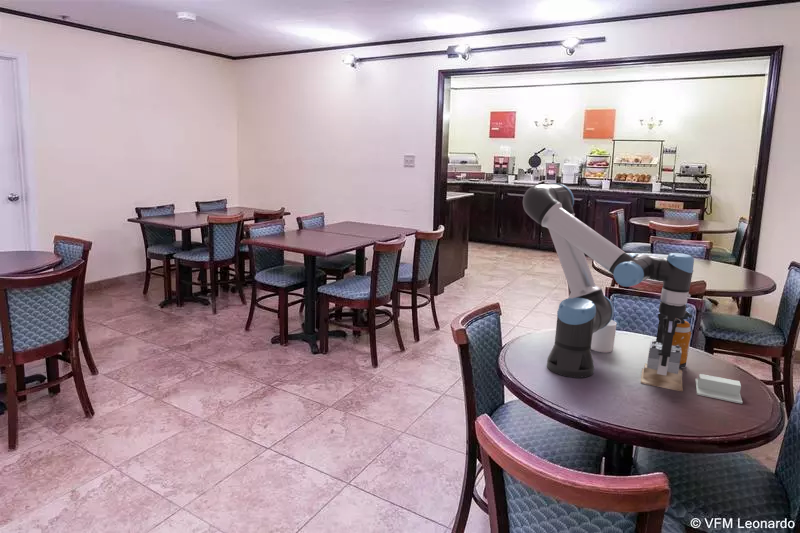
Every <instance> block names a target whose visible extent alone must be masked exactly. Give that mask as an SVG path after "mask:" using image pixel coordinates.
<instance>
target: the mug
mask: <svg viewBox="0 0 800 533" xmlns="http://www.w3.org/2000/svg"><path fill="white" fill-rule="evenodd" d="M617 323H618V322H616V321H615V320H613V319H612V320H611V321H610V322H609V323H608V325H607V326H605V327H604V328H602V329H599V330H598V331H596V332H594V333H593V335H592V343H591V351H595V352H597V353H604V354H606V353H611V352H613V350H614V346H615V337H616V333H617V332H616V331H617Z"/></svg>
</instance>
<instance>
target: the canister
mask: <svg viewBox="0 0 800 533" xmlns="http://www.w3.org/2000/svg"><path fill="white" fill-rule="evenodd" d="M665 316H666V315H662V314H661V313H658V314H657V317H658V324H657V332H656V338H655V341H656V342H658V343H661V340H662V335H663V318H666V317H665ZM692 318H693V315H692V314H691V313H690V312H688V310H686V312H685V316H684V317H681V318H679V317H677V318H675V320H677V327H676V329H675V335H673V341H672V345H675V346H676V345H679V346H680V347H681V352H682V354H681V360H680V365H679V369H684V368H687V367H686V366H687V361H688V356H689V355H688V354H689V350H690V345H691V344H690V343H691V337H692V332H691V327H692V326H691V323H689V321H688V319H692ZM686 320H687V321H686Z"/></svg>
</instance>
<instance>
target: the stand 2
mask: <svg viewBox="0 0 800 533" xmlns="http://www.w3.org/2000/svg"><path fill="white" fill-rule="evenodd" d="M694 381H695V390H696V391H695V392H696V395H697V396H702V397H707V398H711V399H712V398H713V399H717V400H722V401H726V402H730V403H731V402H732V403H736V404H739V405H740V404H741V405H742V404H743V400H742V396H741V395H742V394H741V390H742V385H741V382H740V380H735V379H729V378H724V377H720V376H715V375H714V376H713V375H710V374H709V375H708V374H703V373H699V374H698V378H695V379H694Z"/></svg>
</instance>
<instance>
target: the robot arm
mask: <svg viewBox="0 0 800 533" xmlns="http://www.w3.org/2000/svg"><path fill="white" fill-rule="evenodd" d="M574 205H575V196H574V194H573V192H572V190H571V189H570V188H569V187H568V186H567V185H565V184H563V183H557V182H551V183H539V184H535V185H533V186H531V187H529V188H528V189H527V190H526V191H525V192H524V196H523V198H522V206H523V210H524V212H525V213H526V214H527V216H529V217H530V218H531V219H532V220H533V221H535V222H536V223H537V224H539V225H540V226H541V227H543V228H546V229H548V232H549V234H550V238H551V241H552V244H553V245H554V248H555V251H556V253H557V257H558V260H559V262H560V263H559V264H561V268H562V271H563V274H564V277H565V279H566V282H567V285H568V289H569V292H570V294H569V296H568V297H567V298H565V299H563V300H561V302H559V305H558V308H557V313H556V314H557V315H556V316H557V317H556V327H555V336H554V345H553V347H552V349H551V350H550V353H549V355H548V357H547V361H546V367H547V369H548V370H550V371H551V372H552V373H555V374H558V375H561V376H564V377H568V378H578V379H579V378H580V379H581V378H588V377H590V376H593V374H594V370H595V364H594V359H593V355H592V349H591V343H592V335H593V333H594V332H596V331H598V330H599V329H602V328H604V327H605V326H607V325H608V323H609V322H610V321H611V320H613V317H614V314H615V309H614V305H613V304H614V303H612V301H611V300H610V299H609V297H607V296H606V295H605V294H604V291H603V289H602V287H601V286H598V285H596V282H595V280H594V278H593V274H592V272H591V268H590V266H589V263H588V260H587V259H586V258H587V257H589V258H590V259H592V260H593V261H595V263H597V264H598V265H600V266H601V267H602V268H604V269H605V270H607V271H608V272H609V273H611V275H613V278H614V281H615V282H616V283H617V284H618V285H620V286H621V287H626V288H628V287H635V286H637V285H638V284H641V283H642V282H644V281H647V280H651V281H656V282H662V284H663V285H662V289H661V293H660V300H661V301H660V302H659V305H658V306H659V308H658V314H660V313H661V314H662V315H666V316H665V317H666V318H663V335H662V340H661V343H663V344H662V350H661V353H658V355H660V358H659V364H658V370H657V374H660V375H665V376H666V375H667V369H668V363H669V358H670V355H671V354H670V353H671V347H672V341H673V335H675V329H676V327H677V320H675V318H677V317H679V318H681V317H684V316H685V312H686V311H687V304H688V298H690V297H691V294H690V293H689V292H690V288H691V284H692V283H691V282H692V278H693V273H694V264H695V263H694V262H695V258H694V256H692V255H690V254H686V253H682V252H681V253H679V252H670V253H668V255H667V257H661V256H660V257H658V256H654V255H648V254H643V253H636V252H635V253H633V252H631V253H629V254H628V253H626V251H624V250H622V249H621V248H619V247H618V246H617V245H615V244H614V243H613V242H611V241H610V240H609V239H607V238H606V237H604V236H602V235H601V234H600V233H598V232H597V231H595V230H594V229H593V228H591V227H590V226H589V225H587V224H586V223H584V222H583V221H582V220H580V219H579V218H577V217H576V216H575V215H576V213H575V211H574V208H573V207H574ZM586 256H587V257H586Z"/></svg>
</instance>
